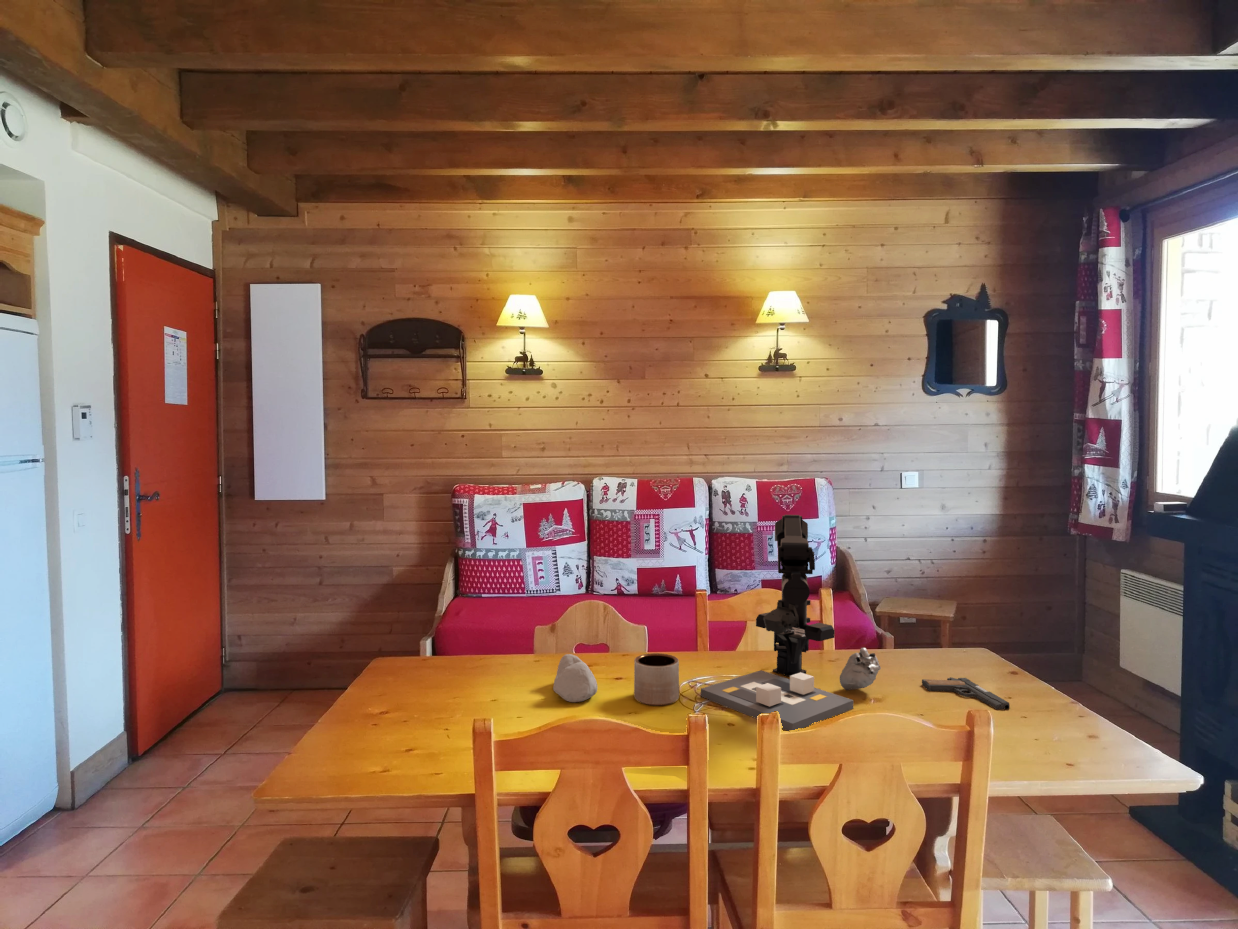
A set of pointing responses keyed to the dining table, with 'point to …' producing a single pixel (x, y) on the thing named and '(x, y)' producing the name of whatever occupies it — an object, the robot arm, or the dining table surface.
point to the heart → (859, 670)
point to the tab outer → (768, 694)
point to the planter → (656, 679)
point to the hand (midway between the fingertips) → (793, 663)
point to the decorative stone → (574, 679)
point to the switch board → (792, 708)
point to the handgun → (968, 687)
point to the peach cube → (802, 683)
